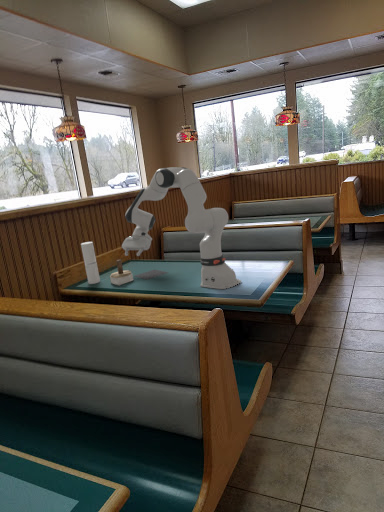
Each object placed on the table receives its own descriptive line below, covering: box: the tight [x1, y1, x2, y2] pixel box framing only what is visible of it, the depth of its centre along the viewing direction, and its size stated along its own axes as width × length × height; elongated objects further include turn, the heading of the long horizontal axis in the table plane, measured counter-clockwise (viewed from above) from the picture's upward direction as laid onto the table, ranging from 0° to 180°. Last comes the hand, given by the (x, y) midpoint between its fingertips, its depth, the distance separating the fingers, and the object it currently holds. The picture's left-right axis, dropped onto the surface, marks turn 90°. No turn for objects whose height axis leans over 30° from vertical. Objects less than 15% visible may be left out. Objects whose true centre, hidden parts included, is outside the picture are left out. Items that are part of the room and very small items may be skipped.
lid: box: [110, 259, 132, 278], centre depth 227 cm, size 12×12×9 cm
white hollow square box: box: [109, 273, 134, 286], centre depth 229 cm, size 10×10×4 cm
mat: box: [134, 269, 169, 281], centre depth 236 cm, size 16×16×1 cm
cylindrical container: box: [80, 241, 101, 285], centre depth 234 cm, size 7×7×25 cm
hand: (131, 255), depth 236 cm, fingers open, 8 cm apart
